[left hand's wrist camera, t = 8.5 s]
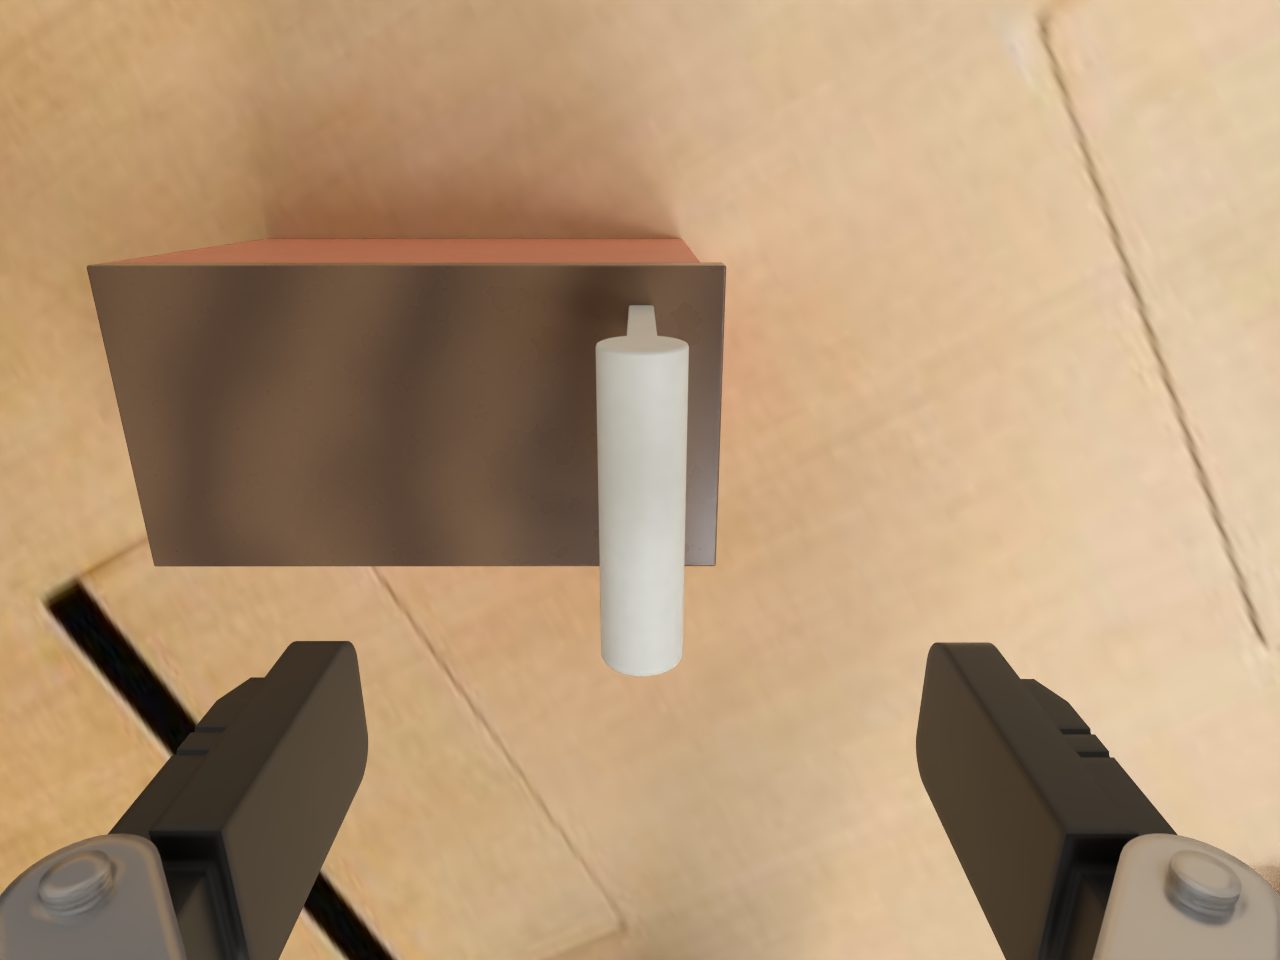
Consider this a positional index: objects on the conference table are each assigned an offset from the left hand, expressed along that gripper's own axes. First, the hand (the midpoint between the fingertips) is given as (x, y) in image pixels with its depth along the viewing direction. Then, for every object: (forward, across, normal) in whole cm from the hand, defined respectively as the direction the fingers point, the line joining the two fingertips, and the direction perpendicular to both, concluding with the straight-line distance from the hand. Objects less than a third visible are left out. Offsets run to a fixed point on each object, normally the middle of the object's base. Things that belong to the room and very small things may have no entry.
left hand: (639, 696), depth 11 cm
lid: (+14, +6, 0) cm, 16 cm away
